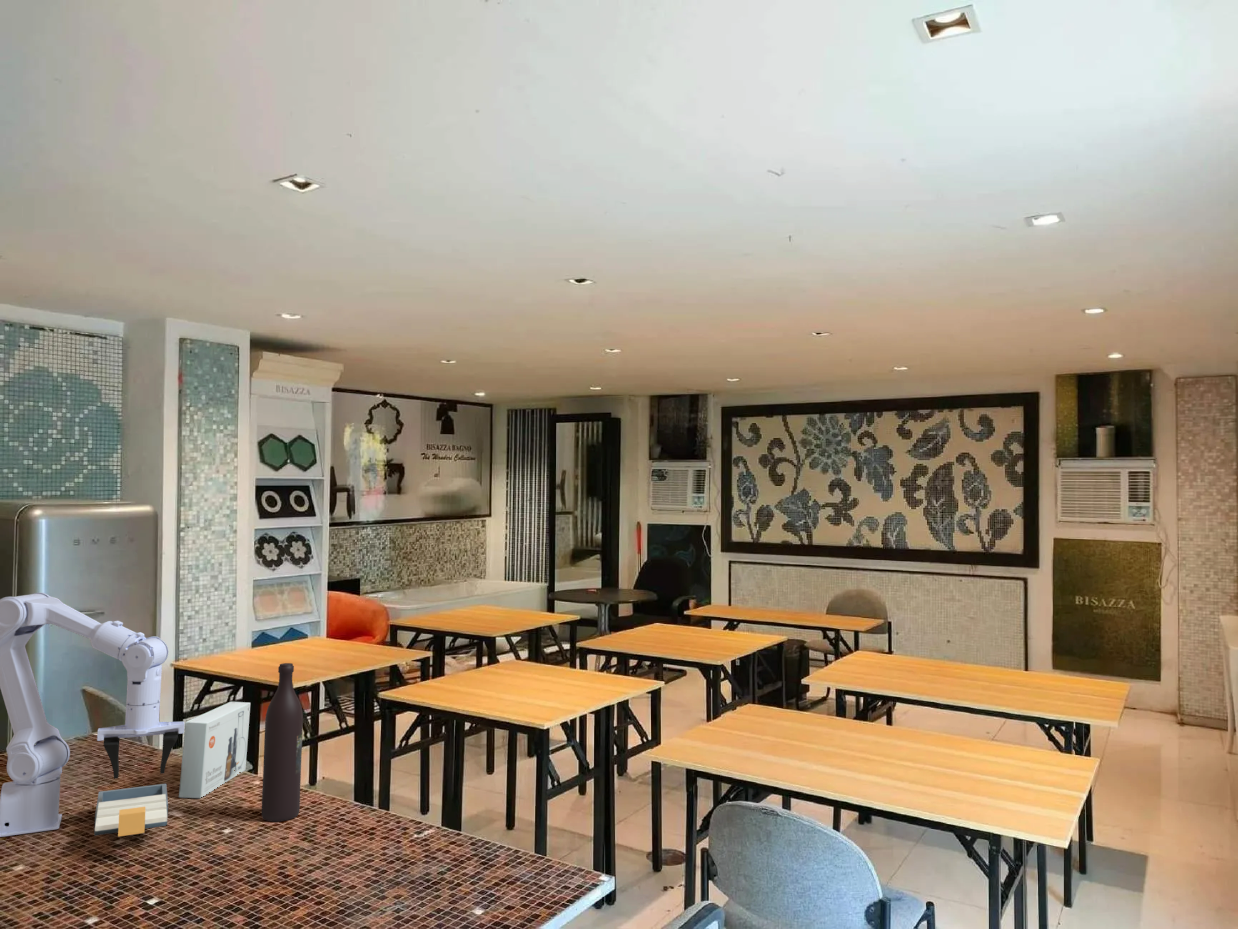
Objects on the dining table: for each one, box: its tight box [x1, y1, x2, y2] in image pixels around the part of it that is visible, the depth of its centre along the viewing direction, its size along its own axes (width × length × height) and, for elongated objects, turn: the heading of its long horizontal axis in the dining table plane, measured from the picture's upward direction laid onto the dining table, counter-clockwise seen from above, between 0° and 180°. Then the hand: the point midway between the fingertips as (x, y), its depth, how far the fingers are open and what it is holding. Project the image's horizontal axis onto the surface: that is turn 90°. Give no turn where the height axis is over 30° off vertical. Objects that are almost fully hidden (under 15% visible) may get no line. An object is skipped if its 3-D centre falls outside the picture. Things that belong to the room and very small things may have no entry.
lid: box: [94, 794, 168, 837], centre depth 158 cm, size 11×18×4 cm, turn 29°
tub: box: [93, 783, 169, 837], centre depth 170 cm, size 12×14×4 cm
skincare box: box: [178, 701, 251, 799], centre depth 192 cm, size 21×6×16 cm, turn 179°
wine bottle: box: [261, 662, 304, 823], centre depth 173 cm, size 7×7×30 cm
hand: (139, 774), depth 165 cm, fingers open, 7 cm apart
